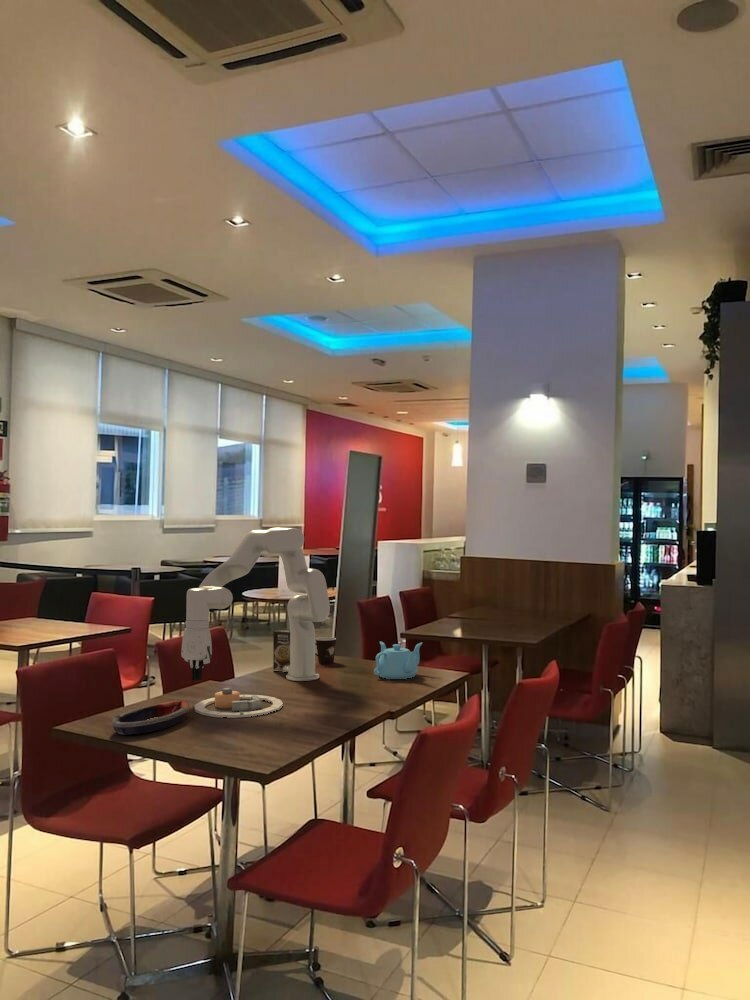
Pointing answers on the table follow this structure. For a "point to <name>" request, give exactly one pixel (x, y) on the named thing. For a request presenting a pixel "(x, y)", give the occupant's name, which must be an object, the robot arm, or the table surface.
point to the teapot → (397, 662)
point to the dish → (138, 717)
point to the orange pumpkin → (226, 698)
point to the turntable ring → (276, 706)
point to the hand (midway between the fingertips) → (196, 679)
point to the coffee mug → (325, 649)
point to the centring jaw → (247, 704)
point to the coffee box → (281, 649)
